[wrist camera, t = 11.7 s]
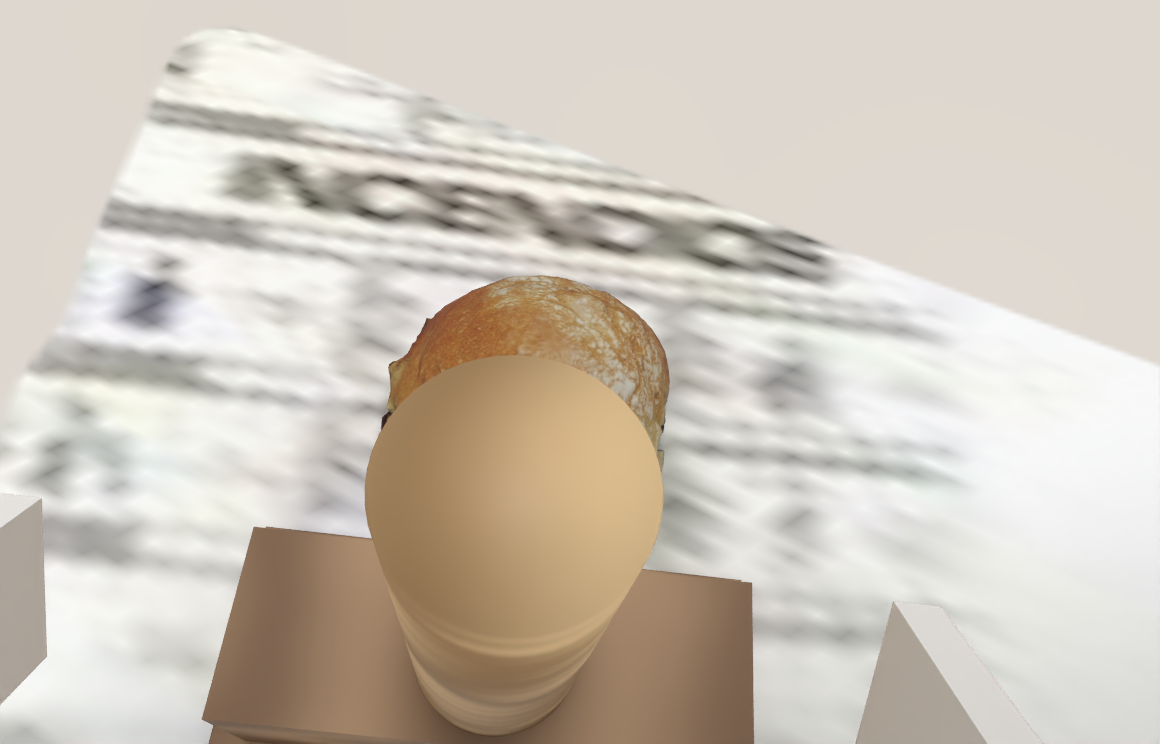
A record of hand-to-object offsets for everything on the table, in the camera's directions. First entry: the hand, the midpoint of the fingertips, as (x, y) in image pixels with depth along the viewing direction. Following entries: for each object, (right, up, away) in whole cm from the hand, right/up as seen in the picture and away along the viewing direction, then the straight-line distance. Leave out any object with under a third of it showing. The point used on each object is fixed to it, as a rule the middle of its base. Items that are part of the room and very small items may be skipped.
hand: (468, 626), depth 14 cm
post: (0, -3, +10) cm, 10 cm away
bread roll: (0, +2, +20) cm, 20 cm away
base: (-1, -6, +15) cm, 16 cm away
